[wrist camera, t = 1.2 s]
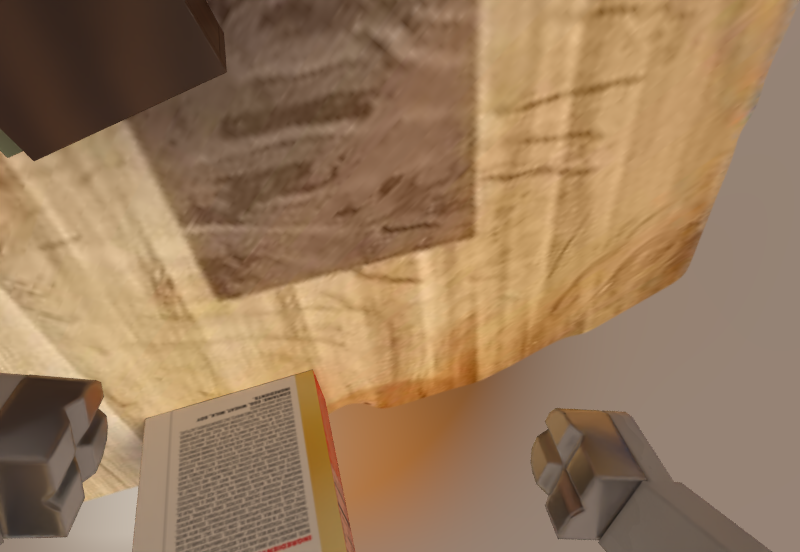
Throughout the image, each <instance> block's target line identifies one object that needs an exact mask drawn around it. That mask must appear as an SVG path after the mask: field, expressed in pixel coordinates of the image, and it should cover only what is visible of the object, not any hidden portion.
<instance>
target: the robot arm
mask: <svg viewBox="0 0 800 552" xmlns="http://www.w3.org/2000/svg"><path fill="white" fill-rule="evenodd" d="M103 397H104V395H103V390H102V385H101V382H99V381H96V380H86V379H74V378H63V377H51V376H39V375H20V374H8V373H0V545H1V544H2V543H3V542H4V540H3V539H8V538H48V537H49V538H51V537H67V536H68V534H69V532H70V530H71V527H72V525H73V523H74V520H75V518H76V516H77V514H78V511H79V509H80V507H81V505H82V503H83V501H84V498H85V495H84V490H83V484H82V483H83V482H84V481H85V480H87V479H88V478H89V477H91V476H92V475H93V474H95V473H96V471H97V469H98V466H99V464H100V462H101V459H102V457H103V453H104V449H105V445H106V441H107V429H108V425H107V416H106V415H105V414H104V413H103V412H102V411H101V410H99V409H98V408H99V406H100V404H101V401H102V399H103ZM545 423H546V425H547V428H548V430H546V431H545V432H543V433H542V434H540V435H539V436H537V438H536V440H535V442H534V444H533V447H532V452H531V466H532V472H533V475H534V478H535V481H536V484H537V485H538V486H539V487H540V488H541V489H542V490H543V491H544V492H545V493H546V494H547V495H548V498H547V501H546V504H545V507H546V510H547V512H548V515H549V517H550V520H551V523H552V525H553V528H554V530H555V533H556V535H557V538H558V539H578V540H600V541H599V542H598V543H599V544H600V545H601V546H602V547H603V549H604V550H605V551H606V552H772V551H770V550H769V549H768V548H767V547H765V546H764V545H763V544H761V543H760V542H759V541H758V540H756V539H755V538H754V537H752V536H751V535H750V534H748V533H747V532H745V531H744V530H743V529H742V528H740V527H739V526H738V525H736V524H735V523H734V522H733V521H731V520H730V519H728V518H727V517H726V516H725V515H723V514H722V513H721V512H719V511H718V510H717V509H715V508H714V507H713V506H711V505H710V504H709V503H707V502H706V501H705V500H704V499H702V498H701V497H700V496H698V495H697V494H695V493H694V492H693V491H692V490H690V489H689V488H688V487H686V486H685V485H684V484H682V483H680V482H674V481H673V480H672V478H671V476H670V475H669V473H668V472H667V470H666V469H665V467H664V466H663V464H662V463H661V461H660V459H659V458H658V456H657V455H656V453H655V452H654V450H653V449H652V447H651V446H650V444H649V442H648V441H647V439H646V438H645V436H644V434H643V433H642V431H641V430H640V428H639V427H638V425H637V424H636V422H635V420H634V419H633V418H632V417H631V416H630V415H629V414H627V413H626V412H618V411H599V410H580V409H561V408H555V409H554V410H552V411H551V412H550V413H549V415H548V417H547V419H546V420H545Z"/></svg>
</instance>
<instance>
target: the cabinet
mask: <svg viewBox="0 0 800 552" xmlns="http://www.w3.org/2000/svg"><path fill="white" fill-rule="evenodd" d="M226 72H227V69H226V55H225V42H224V33H223V31H222V29H221V27H220V25H219V24H218V22H217V20H216V18H215V17H214V15H213V13H212V11H211V10H210V8H209V6H208V4H207V3H206V1H205V0H0V129H1V130H2V131H3V132H4V133H5V134H6V135H7V136H8V137H9V138H11V139H12V140H13V141H14V142H15V143H16V144H17V145H18V146H19V147H20V148H21V149H22V150H23V151H24V152H25V153H26V154H27V155H28V156H29V157H30V158H31V159H32V160H33V161H36V160H38V159H40V158H42V157H44V156H46V155H49V154H51V153H53V152H55V151H57V150H59V149H62V148H64V147H66V146H68V145H70V144H72V143H75V142H77V141H79V140H81V139H83V138H85V137H88V136H90V135H92V134H94V133H96V132H98V131H101V130H103V129H105V128H107V127H109V126H111V125H114V124H116V123H118V122H120V121H122V120H124V119H126V118H129V117H131V116H133V115H135V114H137V113H139V112H142V111H144V110H146V109H148V108H150V107H152V106H155V105H157V104H159V103H161V102H163V101H165V100H168V99H170V98H172V97H174V96H176V95H178V94H181V93H183V92H185V91H187V90H189V89H191V88H193V87H196V86H198V85H200V84H202V83H204V82H206V81H209V80H211V79H213V78H215V77H217V76H219V75H222V74H224V73H226Z"/></svg>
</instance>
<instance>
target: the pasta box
mask: <svg viewBox="0 0 800 552" xmlns="http://www.w3.org/2000/svg"><path fill="white" fill-rule="evenodd" d="M132 552H355V548H354V544H353V539H352V534H351V528H350V523H349V518H348V513H347V508H346V503H345V498H344V494H343V488H342V483H341V478H340V473H339V468H338V463H337V458H336V453H335V448H334V443H333V438H332V432H331V428H330V422H329V417H328V412H327V407H326V402H325V399H324V396H323V394H322V391H321V389H320V386H319V384H318V381H317V379H316V376H315V374H314V371H313V370H310V371H307V372H303V373H300V374H297V375H293V376H290V377H286V378H283V379H280V380H276V381H273V382H269V383H266V384H263V385H259V386H256V387H252V388H249V389H246V390H242V391H239V392H235V393H232V394H229V395H225V396H222V397H218V398H215V399H211V400H208V401H205V402H201V403H198V404H194V405H191V406H188V407H184V408H181V409H177V410H174V411H171V412H167V413H164V414H160V415H157V416H154V417H150V418H147V419H145V427H144V437H143V447H142V457H141V467H140V477H139V488H138V498H137V508H136V518H135V528H134V538H133V549H132Z"/></svg>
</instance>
